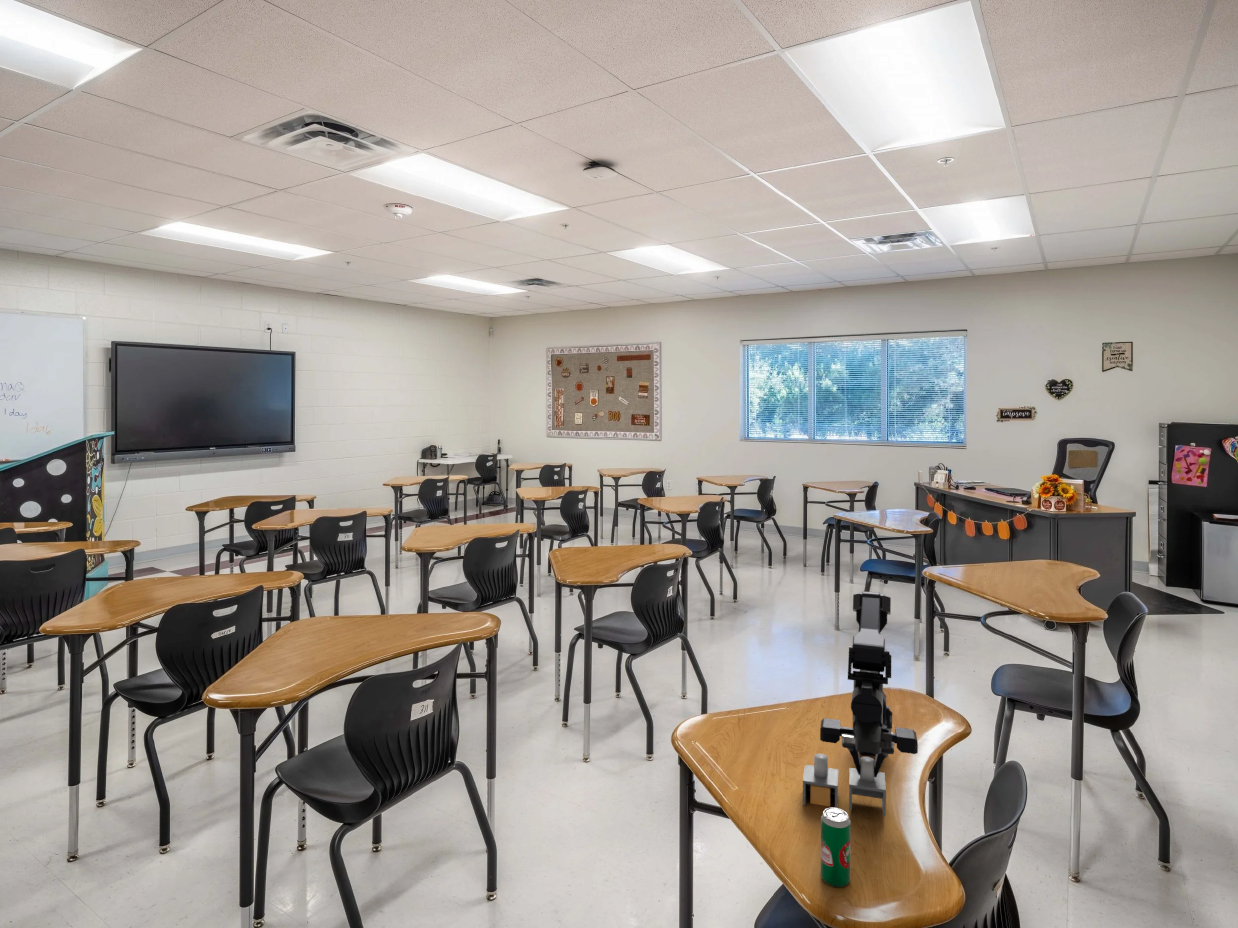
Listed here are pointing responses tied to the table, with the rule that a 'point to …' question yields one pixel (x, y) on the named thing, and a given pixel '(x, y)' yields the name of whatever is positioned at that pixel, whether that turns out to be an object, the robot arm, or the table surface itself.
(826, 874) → the soda can
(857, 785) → the hood
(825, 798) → the letter cube
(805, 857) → the table surface
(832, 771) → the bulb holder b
